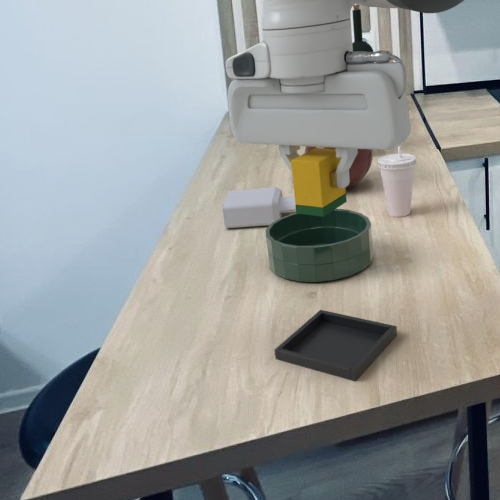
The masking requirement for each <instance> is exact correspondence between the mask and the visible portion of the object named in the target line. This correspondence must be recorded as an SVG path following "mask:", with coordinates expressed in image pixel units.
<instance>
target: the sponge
mask: <svg viewBox="0 0 500 500" xmlns="http://www.w3.org/2000/svg"><path fill="white" fill-rule="evenodd" d="M304 153H305V152H304ZM304 153H302V154H300V155H299V157H297V158H295V159H292V160H291V166H292V176H293V183H292V185H293V194H294V195H293V196H295V204H296V205H295V206H296V212H295V213H297V214H306V215H314V216H322V217H324V216H325V215H327V214H329V213H330V212H332V211H333V210H335V209H339V208H340V207H341V206H343V205H344V204H345V203H347V201H348V200H347V188H333V187H331V186H330V181H331V180H330V178H329V172H331V171H333V170H334V169H336V168H337V167H338V165H339V163H340V160H341V158H337V157H336V149H324V148H315V149H313V150H311V151H309V152H307V153H305V154H304Z"/></svg>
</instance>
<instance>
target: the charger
mask: <svg viewBox="0 0 500 500" xmlns="http://www.w3.org/2000/svg"><path fill="white" fill-rule="evenodd" d="M295 205H296V204H295V195H292V196H283V191H282V189H280V188H279V187H277V186H274V187H273V186H272V187H261V188H249V189H235V190H229V191H228V193H227V195H226V197H225V199H224V201H223V203H222V215H223V221H224V227H225V229H234V228H235V229H237V228H248V227H249V228H251V227H264V226H265V227H266V226H269V225H270V224H271V223H273V222H274V221H276V220H278V219H279V218H282V217H283V214H293V213H296V206H295Z"/></svg>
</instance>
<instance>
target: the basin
mask: <svg viewBox="0 0 500 500" xmlns="http://www.w3.org/2000/svg"><path fill="white" fill-rule="evenodd" d="M265 241H266V248H267V256H268V261H269V262H268V264H269V269H270V270H271V271H272V272H273V273H274V274H275V275H277V276H279V277H282V278H284V279H286V280H290V281H295V282H304V283H305V282H306V283H316V282H317V283H321V282H329V281H336V280H340V279H344V278H347V277H351V276H353V275H355V274H357V273H359V272H362V271H363V270H365V269H366V268H367V267H368V266H370V264H371V263H372V261H373V258H374V249H373V248H374V247H373V233H372V223H371V220H370V218H369V216H366V215H364V214H363V213H362V212H358V211H354V210H351V209H343V208H336V209H335V210H333V211H332V212H330V213H329V214H327V215H325V216H324V217H322V216H314V215H306V214H297V213H296V212H292V213H289V214H287V215H285V216H281V218H279V219H278V220H276V221H274V222H273V223H271V224H270V225H267V228H266V229H265Z"/></svg>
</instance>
